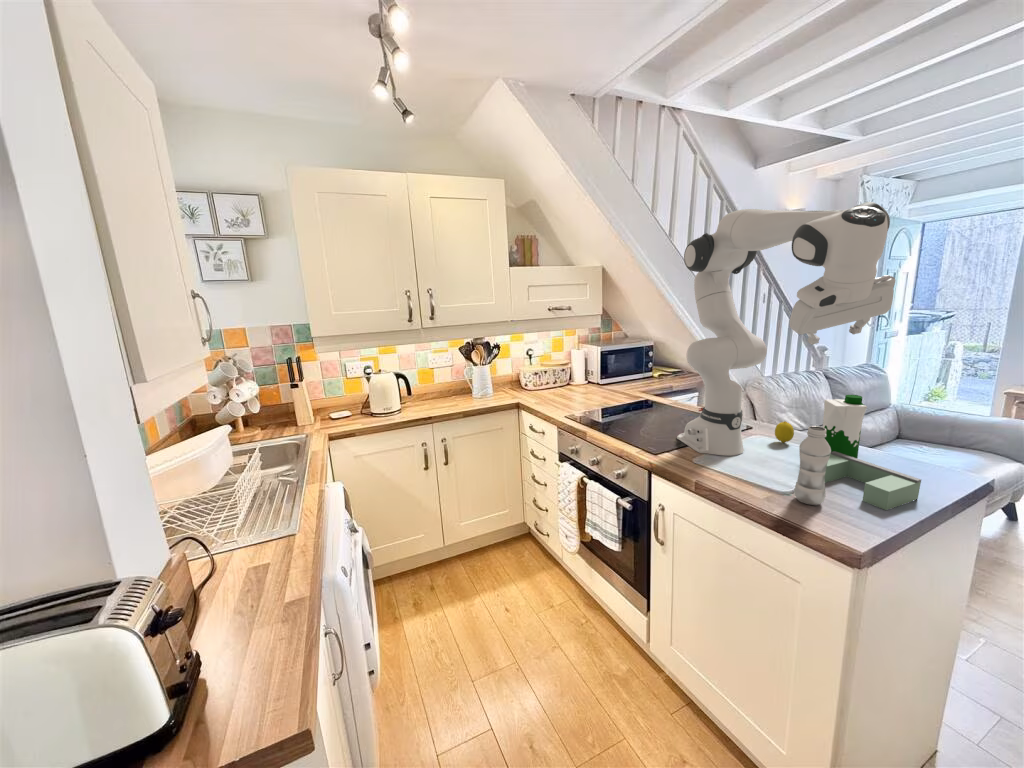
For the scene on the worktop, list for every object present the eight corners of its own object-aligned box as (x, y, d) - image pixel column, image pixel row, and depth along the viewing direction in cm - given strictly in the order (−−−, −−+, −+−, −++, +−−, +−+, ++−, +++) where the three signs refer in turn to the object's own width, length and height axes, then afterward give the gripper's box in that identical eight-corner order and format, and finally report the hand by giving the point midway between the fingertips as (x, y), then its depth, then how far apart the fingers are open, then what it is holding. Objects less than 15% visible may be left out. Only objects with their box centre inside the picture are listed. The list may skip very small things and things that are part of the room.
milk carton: (862, 463, 119) (871, 400, 115) (827, 461, 122) (835, 399, 117) (847, 451, 128) (855, 392, 123) (814, 450, 130) (821, 392, 126)
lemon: (795, 446, 134) (798, 424, 132) (777, 445, 135) (779, 424, 134) (788, 440, 140) (790, 418, 138) (770, 439, 141) (772, 418, 139)
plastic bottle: (791, 503, 101) (799, 429, 96) (795, 492, 105) (803, 422, 101) (822, 511, 96) (832, 435, 92) (825, 500, 101) (835, 426, 97)
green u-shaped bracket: (803, 476, 114) (805, 458, 112) (832, 468, 117) (834, 451, 116) (885, 510, 95) (889, 489, 94) (917, 499, 99) (921, 479, 97)
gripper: (885, 267, 88) (869, 320, 96) (789, 292, 91) (782, 342, 99) (909, 278, 83) (890, 332, 91) (807, 304, 85) (798, 355, 94)
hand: (833, 337), depth 95 cm, fingers open, 8 cm apart
